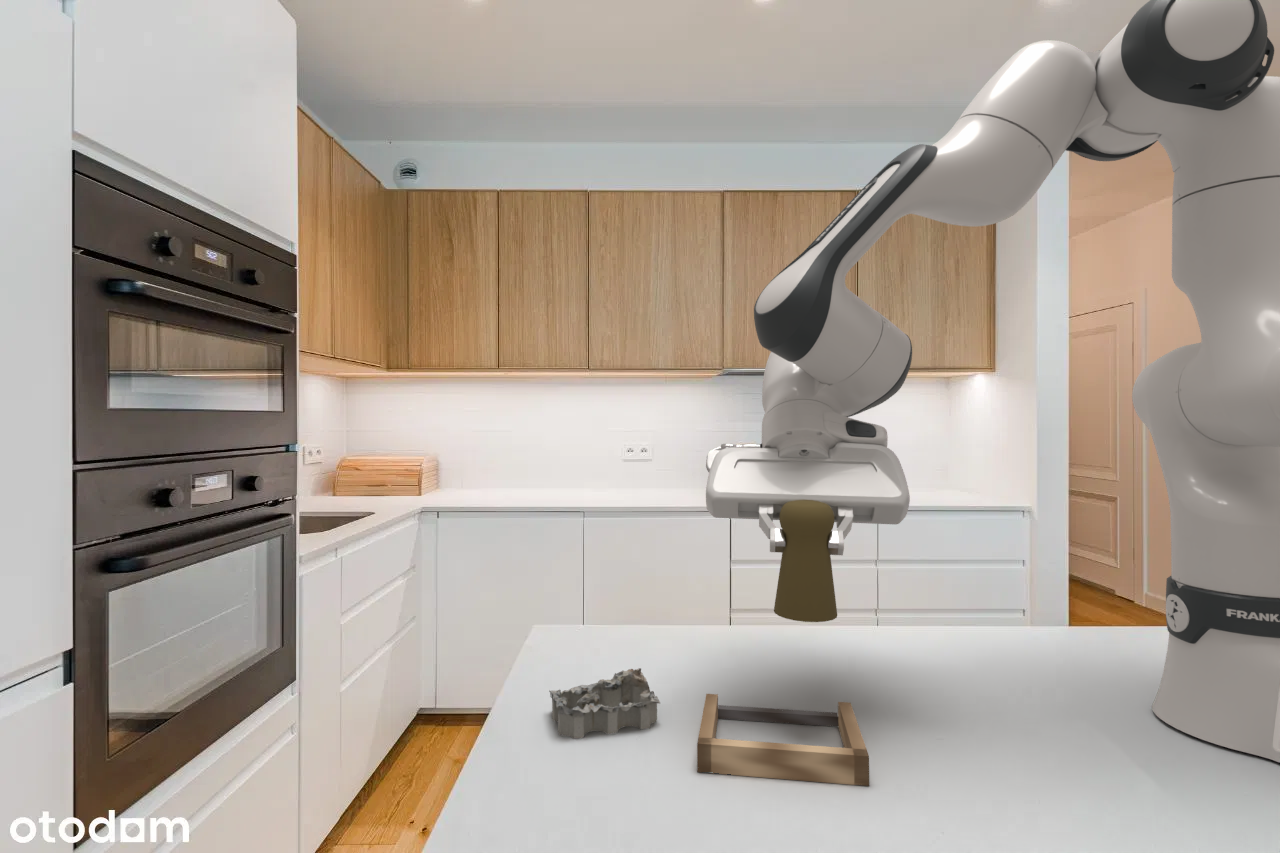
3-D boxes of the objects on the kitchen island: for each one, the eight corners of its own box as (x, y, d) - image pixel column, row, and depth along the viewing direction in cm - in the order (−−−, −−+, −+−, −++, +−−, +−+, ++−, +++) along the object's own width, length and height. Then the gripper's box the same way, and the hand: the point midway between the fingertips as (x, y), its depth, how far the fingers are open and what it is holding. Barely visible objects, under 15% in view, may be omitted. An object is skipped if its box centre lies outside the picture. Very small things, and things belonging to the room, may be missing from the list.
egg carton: (645, 703, 75) (645, 666, 75) (663, 733, 68) (664, 691, 68) (548, 712, 72) (548, 674, 72) (556, 744, 65) (557, 701, 65)
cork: (839, 624, 63) (841, 505, 63) (772, 619, 64) (774, 502, 64) (835, 607, 69) (837, 498, 69) (774, 602, 70) (776, 496, 70)
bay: (849, 723, 69) (849, 698, 69) (869, 786, 57) (869, 756, 57) (707, 713, 71) (707, 689, 71) (697, 772, 59) (697, 743, 59)
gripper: (706, 424, 75) (697, 526, 65) (901, 427, 71) (922, 535, 62) (709, 463, 79) (700, 563, 70) (893, 467, 76) (910, 574, 66)
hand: (806, 550), depth 66 cm, fingers closed on cork, 4 cm apart
